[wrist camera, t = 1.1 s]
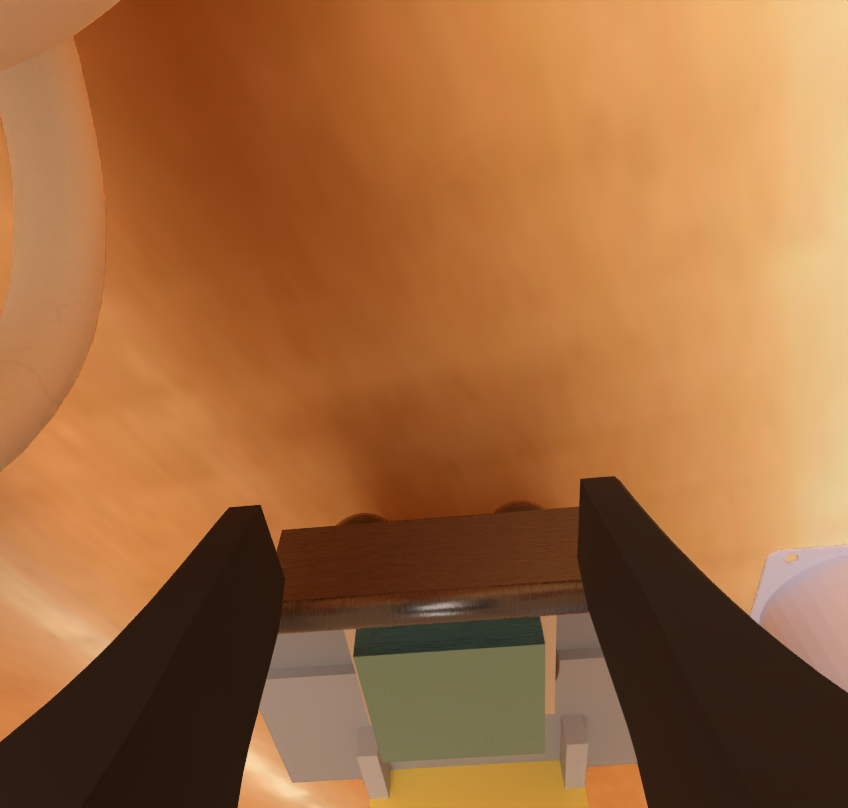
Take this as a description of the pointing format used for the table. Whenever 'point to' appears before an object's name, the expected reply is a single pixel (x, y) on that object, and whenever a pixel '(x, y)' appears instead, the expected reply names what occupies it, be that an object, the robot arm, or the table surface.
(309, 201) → the table surface
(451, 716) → the toy cart
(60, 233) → the pitcher
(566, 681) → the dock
